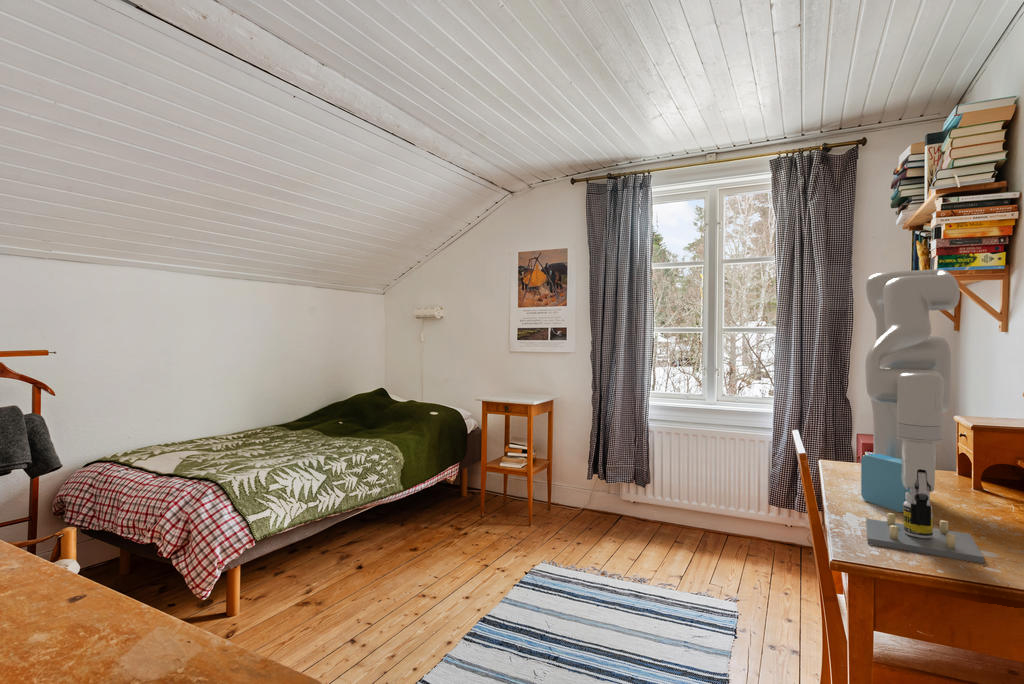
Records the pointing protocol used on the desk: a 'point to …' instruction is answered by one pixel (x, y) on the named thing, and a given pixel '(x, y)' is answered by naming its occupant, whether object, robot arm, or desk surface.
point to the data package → (883, 481)
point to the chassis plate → (923, 540)
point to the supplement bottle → (915, 529)
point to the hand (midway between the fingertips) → (919, 519)
